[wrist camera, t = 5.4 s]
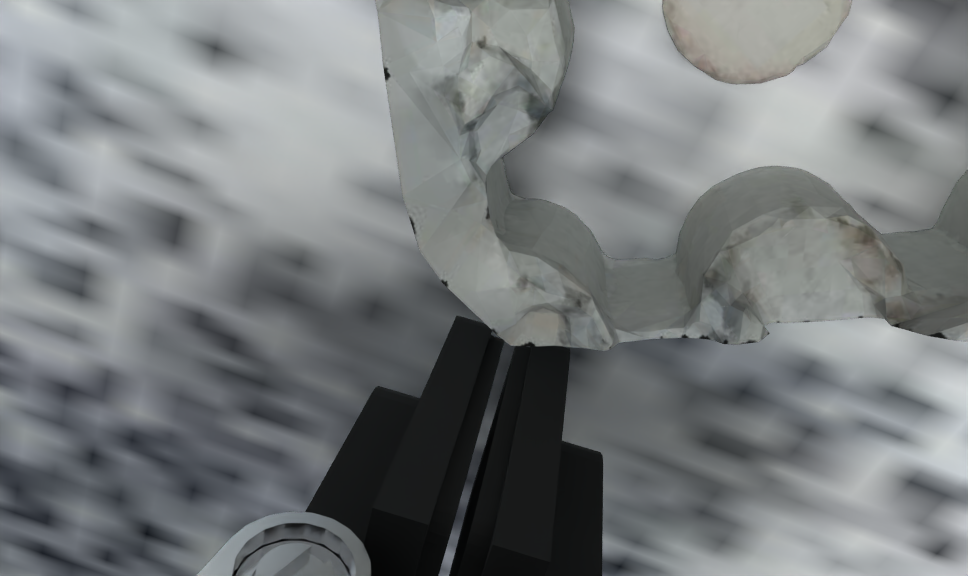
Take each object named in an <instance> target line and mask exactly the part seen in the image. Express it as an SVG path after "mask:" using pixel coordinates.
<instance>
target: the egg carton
mask: <svg viewBox="0 0 968 576" xmlns="http://www.w3.org/2000/svg"><path fill="white" fill-rule="evenodd" d="M375 2H376V7H377V11H378V19H379V29H380V39H381V48H382V58H383V67H384V74H385V80H386V87H387V94H388V101H389V108H390V114H391V121H392V128H393V135H394V141H395V148H396V155H397V162H398V168H399V175H400V182H401V189H402V196H403V199H404V202H405V205H406V208H407V212H408V215H409V218H410V221H411V224H412V228H413V231H414V234H415V237H416V240H417V243H418V247H419V250H420V252H421V254H422V255H423V256H424V258H425V259H426V261H427V262H428V263H429V265H430V266H431V268H432V269H433V270H434V272H435V273H436V275H437V276H438V277H439V279H440V280H441V281H442V283H443V284H444V285H445V286H446V287H447V288H448V289H449V290H450V291H451V292H453V293H454V294H455V295H456V296H457V297H458V298H459V299H460V300H461V301H462V302H463V303H464V304H465V305H466V306H467V307H468V308H469V309H470V310H471V311H473V312H474V313H475V314H476V315H477V316H478V317H479V318H480V319H481V320H482V321H483V322H484V323H485V324H486V325H487V326H488V327H489V328H490V329H491V330H492V331H494V332H495V333H496V334H497V335H498V336H499V337H500V338H502V339H503V340H504V341H505V342H507V343H508V344H509V345H510V346H554V345H555V346H564V347H574V348H586V349H594V350H600V351H606V350H611V349H612V348H613V347H615V346H616V345H617V344H618V343H621V342H630V341H638V340H647V339H664V338H699V339H709V340H715V341H717V342H720V343H723V344H731V345H738V344H746V343H754V342H760V341H761V340H762V339H763V338H764V337H766V336H767V335H768V334H769V332H768V331H767V330H766V328H765V327H764V325H767V324H771V323H795V322H815V321H830V320H841V319H853V318H883V319H885V320H886V321H887V322H888V323H889V324H890V325H891V326H894V327H898V328H902V329H905V330H909V331H912V332H916V333H919V334H923V335H927V336H932V337H938V338H944V339H949V340H956V341H968V170H967V171H966V172H965V173H964V175H963V176H962V177H961V178H960V179H959V180H958V182H957V183H956V185H955V187H954V188H953V190H952V192H951V194H950V196H949V198H948V200H947V202H946V204H945V205H944V207H943V209H942V211H941V214H940V217H939V219H938V221H937V223H936V224H935V225H934V227H933V228H932V229H927V230H921V231H915V232H897V233H888V234H880V233H879V232H878V231H877V230H876V229H875V228H873V227H872V226H871V225H870V224H869V223H868V222H867V221H866V220H864V219H863V218H862V217H861V216H860V215H859V214H858V213H856V211H855V210H854V209H853V208H852V207H851V206H850V205H849V204H848V203H847V202H846V201H845V200H844V199H843V198H842V197H841V196H840V195H839V194H838V193H837V192H836V191H835V190H834V189H833V187H831V186H830V185H829V184H828V183H826V182H825V181H823V180H821V179H820V178H818V177H816V176H814V175H812V174H810V173H809V172H807V171H804V170H801V169H798V168H792V167H782V166H770V167H760V168H755V169H751V170H748V171H745V172H743V173H739V174H736V175H734V176H732V177H730V178H728V179H726V180H724V181H722V182H720V183H718V184H716V185H714V186H713V187H711V188H710V189H709V190H708V191H707V192H706V193H705V194H704V195H702V196H701V197H700V198H699V199H698V201H697V202H696V204H695V205H694V206H693V208H692V209H691V211H690V212H689V213H688V215H687V218H686V220H685V222H684V225H683V227H682V229H681V231H680V234H679V240H678V245H677V250H676V254H673V255H671V256H668V257H666V258H661V259H649V258H641V259H612V258H609V257H608V256H606V255H604V254H603V253H602V251H601V248H600V246H599V245H598V243H597V241H596V239H595V238H594V236H593V234H592V232H591V230H590V229H589V228H588V227H587V226H586V225H585V224H584V223H583V222H582V221H581V220H580V219H579V218H578V217H577V216H576V215H575V214H574V213H572V212H571V211H569V210H568V209H566V208H564V207H563V206H559V205H556V204H554V203H551V202H548V201H545V200H539V199H525V198H521V197H518V196H515V195H513V194H512V193H511V191H510V188H509V185H508V181H507V178H506V172H505V167H504V162H503V156H505V155H506V154H507V153H509V152H510V151H511V150H512V149H514V148H515V147H516V146H518V145H519V144H520V143H522V142H523V141H524V140H526V139H527V138H529V137H530V136H531V135H533V134H534V132H535V131H536V130H537V128H538V127H539V126H540V124H541V123H542V121H543V120H544V119H545V117H546V116H547V115H548V113H550V112H551V111H553V108H554V106H555V103H556V99H557V96H558V93H559V90H560V87H561V84H562V82H563V80H564V77H565V74H566V71H567V67H568V64H569V61H570V56H571V52H572V46H573V41H574V24H573V20H572V16H571V12H570V5H569V3H568V1H567V0H375ZM851 3H852V0H663V13H664V17H665V21H666V25H667V29H668V32H669V33H670V35H671V37H672V39H673V41H674V43H675V45H676V47H677V49H678V51H679V52H680V53H681V54H682V55H683V56H685V57H686V58H687V59H688V60H689V61H690V62H691V63H692V64H693V65H694V66H696V67H697V68H699V69H700V70H702V71H703V72H705V73H706V74H708V75H709V76H711V77H712V78H714V79H715V80H719V81H723V82H727V83H731V84H756V83H763V82H767V81H770V80H773V79H777V78H780V77H783V76H786V75H788V74H790V73H791V72H792V71H794V69H795V68H796V67H797V66H799V65H802V64H804V63H806V62H807V61H808V60H810V59H811V58H813V57H814V56H815V55H817V54H818V53H819V52H821V51H822V50H823V49H825V48H826V47H827V46H828V44H829V42H830V40H831V39H832V37H833V35H834V34H835V33H836V31H837V30H838V28H839V27H840V26H841V24H842V23H843V21H844V20H845V19H846V17H847V16H848V14H849V11H850V7H851Z"/></svg>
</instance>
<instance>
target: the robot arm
mask: <svg viewBox="0 0 968 576" xmlns="http://www.w3.org/2000/svg"><path fill="white" fill-rule="evenodd" d="M491 333H492V330H491V329H490V328H489V327H488V326H487V325H486V324H484V323H481V322H477V321H474V320H471V319H467V318H464V317H460V316H456V318H455V321H454V323H453V325H452V327H451V330H450V332H449V334H448V337H447V339H446V341H445V343H444V346H443V348H442V350H441V352H440V355H439V357H438V359H437V362H436V364H435V366H434V368H433V371H432V373H431V375H430V377H429V380H428V382H427V384H426V387H425V389H424V391H423V393H422V396H421V398H417V397H413V396H410V395H407V394H403V393H400V392H397V391H393V390H390V389H386V388H383V387H380V386H378V387H376V388H375V389H374V391H373V392H372V394H371V396H370V397H369V399H368V401H367V403H366V405H365V406H364V408H363V410H362V412H361V414H360V415H359V417H358V419H357V421H356V422H355V424H354V426H353V428H352V430H351V431H350V433H349V435H348V437H347V438H346V440H345V442H344V444H343V446H342V447H341V449H340V451H339V453H338V455H337V456H336V458H335V460H334V462H333V463H332V465H331V467H330V469H329V471H328V472H327V474H326V476H325V478H324V480H323V481H322V483H321V485H320V487H319V488H318V490H317V492H316V494H315V496H314V497H313V499H312V501H311V503H310V504H309V506H308V508H307V510H306V512H292V511H289V512H284V513H278V514H272V515H267V516H265V517H263V518H261V519H258V520H256V521H254V522H252V523H249V524H247V525H246V526H245V527H243V528H242V529H241V530H240V531H239V532H237V533H236V534H235V535H234V536H232V537H231V538H230V539H229V540H228V541H227V542H226V543H225V544H224V546H223V547H222V548H221V549H220V550H219V551H218V552H217V553H216V554H215V555H214V556H213V558H212V559H211V560H210V561H209V562H208V563H207V564H206V565H205V566H204V567H203V568H202V570H201V571H200V572H199V573H198V574H197V575H196V576H438V574H439V571H440V568H441V564H442V561H443V558H444V554H445V551H446V547H447V544H448V540H449V537H450V533H451V530H452V526H453V523H454V519H455V516H456V512H457V509H458V505H459V502H460V498H461V495H462V491H463V487H464V484H465V480H466V477H467V473H468V469H469V466H470V462H471V459H472V455H473V452H474V448H475V444H476V441H477V437H478V434H479V430H480V427H481V423H482V419H483V416H484V412H485V409H486V405H487V402H488V398H489V394H490V391H491V387H492V384H493V380H494V376H495V373H496V369H497V366H498V362H499V359H500V355H501V351H502V348H503V344H504V340H503V339H500V338H497V337H493V336H491ZM569 360H570V348H566V347H563V346H555V345H554V346H530V347H528V346H515V349H514V352H513V356H512V359H511V362H510V366H509V369H508V372H507V375H506V379H505V382H504V385H503V389H502V392H501V395H500V399H499V402H498V405H497V409H496V412H495V415H494V419H493V422H492V425H491V428H490V432H489V435H488V438H487V442H486V445H485V448H484V452H483V455H482V458H481V462H480V465H479V468H478V472H477V475H476V478H475V481H474V485H473V488H472V492H471V495H470V499H469V502H468V506H467V510H466V513H465V517H464V521H463V525H462V529H461V532H460V536H459V540H458V544H457V548H456V552H455V555H454V559H453V563H452V567H451V571H450V574H449V576H602V521H603V457H602V454H601V453H600V452H598V451H594V450H591V449H588V448H584V447H581V446H577V445H574V444H571V443H567V442H564V441H562V432H563V422H564V412H565V401H566V391H567V381H568V371H569Z"/></svg>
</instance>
